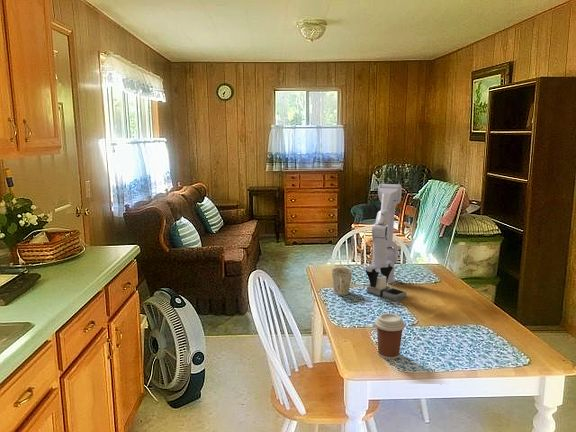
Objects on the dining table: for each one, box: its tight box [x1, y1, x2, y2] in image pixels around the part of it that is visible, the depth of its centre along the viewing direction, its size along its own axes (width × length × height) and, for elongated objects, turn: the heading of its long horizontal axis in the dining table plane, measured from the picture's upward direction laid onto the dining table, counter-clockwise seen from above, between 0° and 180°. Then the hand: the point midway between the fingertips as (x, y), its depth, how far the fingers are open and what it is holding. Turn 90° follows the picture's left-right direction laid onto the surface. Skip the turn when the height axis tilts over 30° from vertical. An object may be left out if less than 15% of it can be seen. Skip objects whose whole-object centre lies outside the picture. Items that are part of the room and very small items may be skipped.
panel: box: [365, 285, 408, 303], centre depth 200 cm, size 15×9×3 cm, turn 43°
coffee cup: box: [374, 312, 406, 360], centre depth 148 cm, size 9×9×12 cm
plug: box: [372, 274, 387, 290], centre depth 202 cm, size 4×4×8 cm
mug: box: [331, 267, 353, 296], centre depth 200 cm, size 8×13×10 cm, turn 174°
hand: (378, 284), depth 203 cm, fingers open, 7 cm apart
